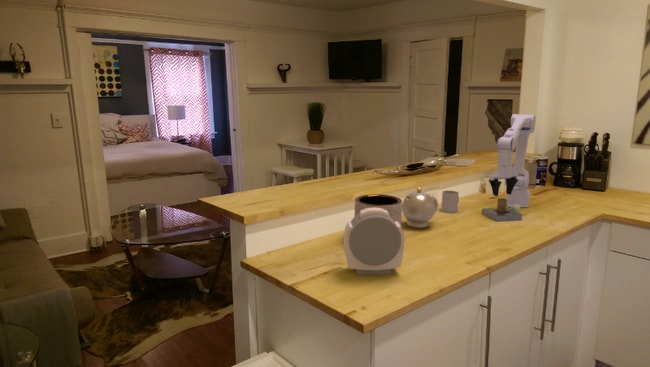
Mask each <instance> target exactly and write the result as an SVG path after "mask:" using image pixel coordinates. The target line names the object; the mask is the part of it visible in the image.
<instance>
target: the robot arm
mask: <svg viewBox="0 0 650 367" xmlns="http://www.w3.org/2000/svg"><path fill="white" fill-rule="evenodd" d="M536 120H537V119H536V115H535V114H525V113H524V114H522V113H521V114H520V113H513V114H512V115H511V117H510V126H511V127H509V128H507V129H506V131H505V133H504V134H503V136H501V137H499V138H498V140H497V146H496V148H497V154H498V157H497V158H498V160H497V168H496V170H497V171H496V173H494V174H489V175H488V183H489V185H490V186H491V187H490V188H491V191H492V195H493V196H494V197H499V191H500V186H501V184H502V181H500V180H504V184H505V186H506V187H505V188H506V194H507V197H506V199H507V204H506V207H508V208H511V206H512V204H518V205H520V208H529V207H530V205H529V203H530V190H529V188H528V186H529V183H530V173H529V171H528V170H526V169H525V164H526V163H525V162H526V157H527V149H528V144H529V143H528V142H529V137H530V134H533V133H534V131H535V128H536ZM514 151H515V155H514ZM513 157H514V160H513Z"/></svg>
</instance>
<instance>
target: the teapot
mask: <svg viewBox="0 0 650 367" xmlns="http://www.w3.org/2000/svg"><path fill="white" fill-rule="evenodd" d="M422 190H423V189H422V187H419V186H418V187H417V188H416V191H413V192H410V193H408V195H407V194H406V196H405V198H403V200H402V216H404V218H405V219H406V220H407V221H406V225H407V226H408V227H409V228H414V229H425V228H427V227H429V222H430V221H431V220H432V219H433V217H434V215H436V213H437V210H438V208H439V202H438V200H437V198H436V197H434V196H431V195H430V194H429V193H427V192H425V191H422Z"/></svg>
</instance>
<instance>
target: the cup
mask: <svg viewBox="0 0 650 367" xmlns="http://www.w3.org/2000/svg"><path fill="white" fill-rule="evenodd" d="M441 192H442V193H441V196H442V197H441V212H444V213H448V214H449V213H450V214H453V213H454V214H455V213H457V212H458V206H459V205H458V204H459V202H460V195H459V192H458V191H455V190H442V191H441Z"/></svg>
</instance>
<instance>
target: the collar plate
mask: <svg viewBox="0 0 650 367" xmlns="http://www.w3.org/2000/svg"><path fill="white" fill-rule="evenodd" d="M481 214H482V216H483V215H484V216H485V217H487V218H489V219H491V220H492V221H494V222H508V221H510V222H511V221H522V220H523V219H522V218H523V214H521V213H518V212H515V211H513V210H511V208H510V207H508V206H506V213H498V212H497V207H488V208H487V207H486V208H481Z"/></svg>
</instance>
